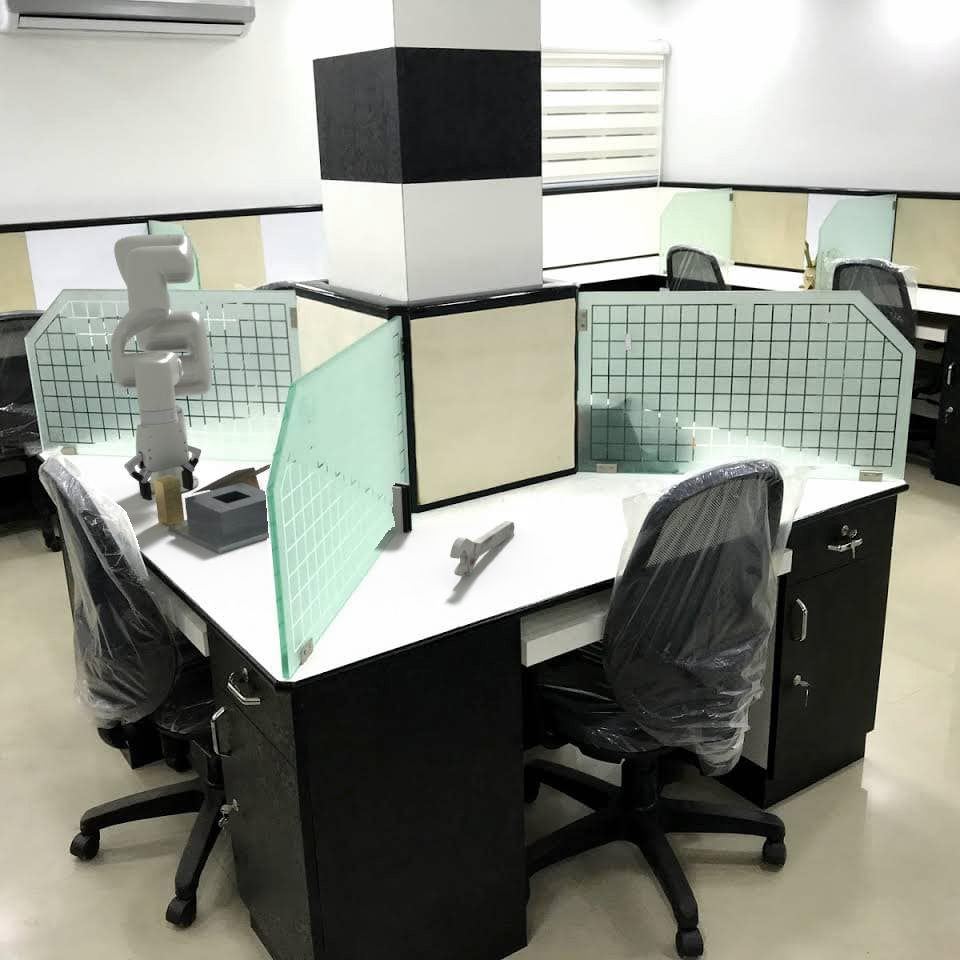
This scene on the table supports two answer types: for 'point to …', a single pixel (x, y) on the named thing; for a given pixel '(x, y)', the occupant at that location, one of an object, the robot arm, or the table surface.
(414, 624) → the table surface
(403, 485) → the hinge
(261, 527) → the collar block
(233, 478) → the beige piece
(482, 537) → the wrench
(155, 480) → the brass pin
